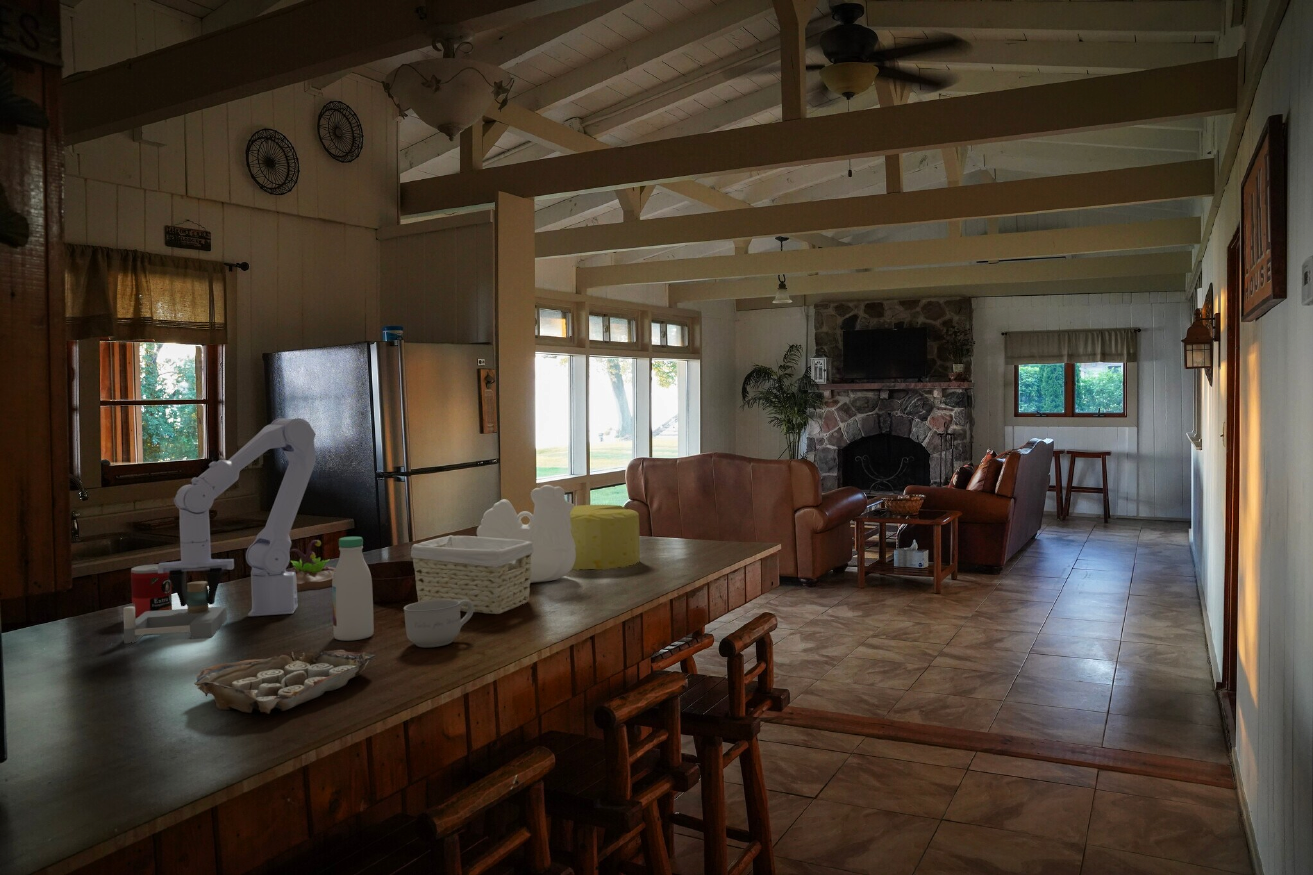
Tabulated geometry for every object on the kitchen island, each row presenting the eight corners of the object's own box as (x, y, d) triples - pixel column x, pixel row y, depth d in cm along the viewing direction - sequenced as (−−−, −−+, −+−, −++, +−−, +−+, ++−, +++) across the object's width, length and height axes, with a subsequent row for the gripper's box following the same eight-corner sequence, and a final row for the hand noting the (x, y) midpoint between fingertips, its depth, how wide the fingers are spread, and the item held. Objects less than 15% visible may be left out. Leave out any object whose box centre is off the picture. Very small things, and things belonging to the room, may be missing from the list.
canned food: (156, 620, 204) (153, 570, 204) (124, 619, 206) (122, 570, 205) (180, 612, 212) (178, 564, 211) (149, 611, 213) (147, 563, 213)
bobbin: (211, 607, 203) (210, 580, 202) (206, 612, 198) (205, 584, 198) (189, 609, 202) (188, 581, 201) (184, 613, 197) (183, 585, 197)
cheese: (654, 556, 275) (654, 505, 274) (614, 572, 251) (613, 517, 250) (576, 551, 285) (575, 502, 285) (531, 566, 262) (529, 513, 261)
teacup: (411, 654, 175) (410, 612, 175) (399, 641, 185) (397, 601, 184) (484, 644, 181) (483, 603, 181) (468, 631, 191) (467, 593, 191)
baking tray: (297, 662, 173) (296, 633, 173) (398, 671, 166) (397, 640, 166) (164, 715, 145) (162, 680, 145) (279, 728, 138) (277, 691, 138)
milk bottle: (381, 633, 191) (378, 535, 190) (357, 642, 184) (354, 541, 183) (349, 630, 194) (346, 534, 193) (325, 640, 186) (321, 540, 185)
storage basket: (537, 602, 218) (536, 538, 217) (499, 618, 203) (497, 550, 202) (452, 594, 227) (450, 534, 226) (409, 609, 212) (407, 544, 212)
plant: (363, 583, 244) (362, 540, 243) (288, 595, 231) (286, 549, 230) (330, 572, 258) (329, 532, 258) (258, 583, 245) (256, 541, 245)
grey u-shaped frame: (226, 619, 204) (225, 588, 204) (211, 637, 189) (209, 603, 189) (146, 625, 200) (144, 592, 200) (123, 644, 185) (121, 609, 185)
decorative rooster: (584, 575, 247) (582, 481, 246) (563, 588, 232) (561, 488, 231) (496, 572, 254) (494, 480, 252) (470, 584, 238) (468, 487, 237)
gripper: (152, 545, 194) (155, 610, 194) (228, 542, 197) (230, 606, 198) (161, 540, 200) (164, 603, 201) (234, 537, 204) (237, 599, 205)
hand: (197, 604), depth 200 cm, fingers open, 5 cm apart
